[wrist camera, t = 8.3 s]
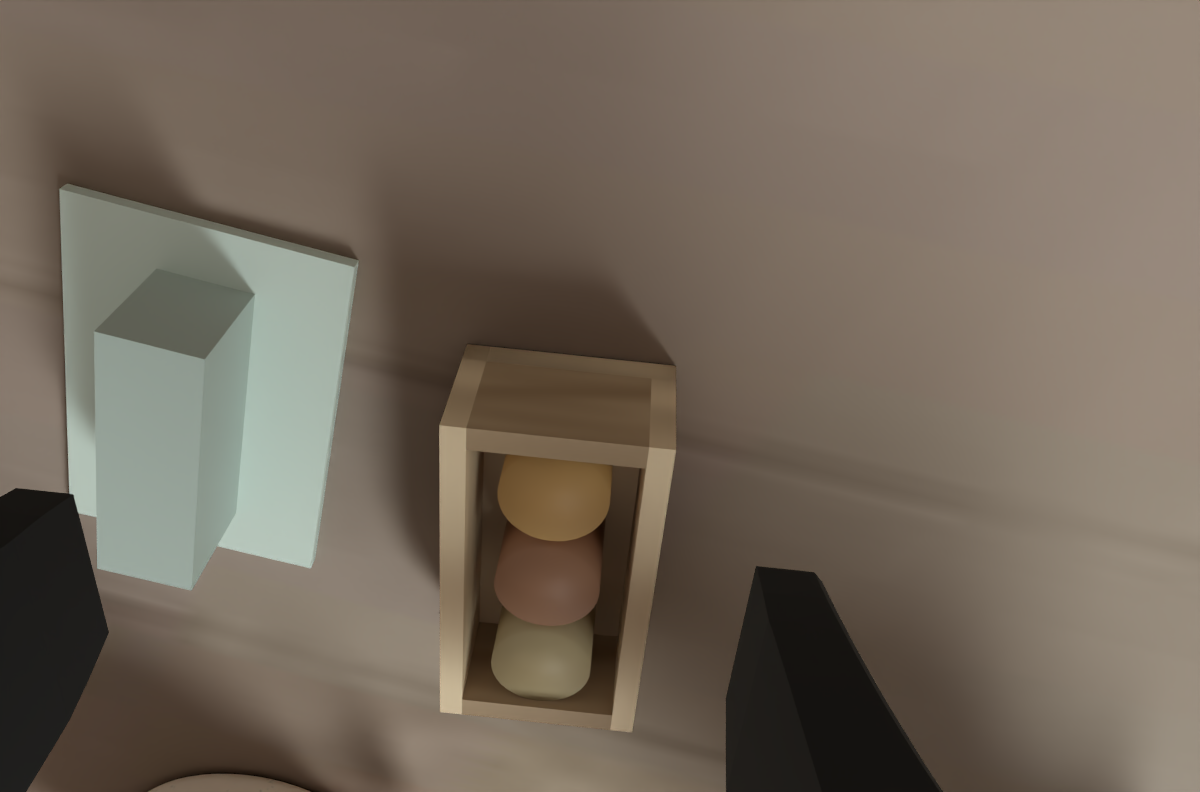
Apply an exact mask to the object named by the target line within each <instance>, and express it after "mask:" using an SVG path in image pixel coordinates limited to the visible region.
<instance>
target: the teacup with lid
mask: <svg viewBox="0 0 1200 792" xmlns="http://www.w3.org/2000/svg"><path fill="white" fill-rule="evenodd" d="M148 792H311V791H308V790H306V789H303V788H300V787H298V786H295V785H291V784H288V783H285V782H281V781H277V780H273V779H268V778H263V777H258V776H250V775H241V774H205V775H196V776H189V777H185V778H180V779H176V780H173V781H170V782H167V783H165V784H162V785H160V786H158V787H156V788H154V789H152V790H150V791H148Z"/></svg>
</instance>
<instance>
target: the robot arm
mask: <svg viewBox="0 0 1200 792" xmlns="http://www.w3.org/2000/svg"><path fill="white" fill-rule="evenodd" d="M108 633H109V632H108V628H107V624H106V620H105V616H104V612H103V608H102V604H101V600H100V596H99V593H98V589H97V585H96V581H95V577H94V573H93V569H92V565H91V561H90V557H89V553H88V550H87V546H86V542H85V538H84V534H83V530H82V526H81V522H80V518H79V514H78V511H77V507H76V503H75V499H74V495H73V494H66V493H56V492H47V491H37V490H28V489H18V488H16V489H14V490H12V491H10V492H8V493H7V494H5V495H3V496H1V497H0V792H26V791H27V789H28V788H29V786H30V784H31V783H32V781H33V780H34V778H35V776H36V775H37V773H38V771H39V770H40V768H41V766H42V765H43V763H44V762H45V760H46V758H47V757H48V755H49V753H50V752H51V750H52V748H53V747H54V745H55V744H56V742H57V740H58V738H59V737H60V735H61V733H62V732H63V730H64V728H65V727H66V725H67V723H68V722H69V720H70V718H71V716H72V713H73V711H74V709H75V707H76V705H77V703H78V701H79V699H80V697H81V694H82V692H83V690H84V688H85V686H86V684H87V682H88V679H89V677H90V675H91V673H92V670H93V668H94V666H95V663H96V661H97V659H98V656H99V654H100V652H101V649H102V647H103V645H104V642H105V640H106V638H107V635H108ZM726 792H943V791H942V790H941V788H940V787H939V785H938V784H937V782H936V781H935V779H934V778H933V776H932V775H931V773H930V771H929V770H928V768H927V767H926V765H925V764H924V762H923V761H922V759H921V758H920V756H919V754H918V753H917V751H916V749H915V748H914V746H913V745H912V743H911V741H910V740H909V738H908V736H907V735H906V733H905V732H904V730H903V728H902V727H901V725H900V723H899V722H898V720H897V718H896V717H895V715H894V714H893V712H892V710H891V709H890V707H889V705H888V704H887V702H886V700H885V699H884V697H883V695H882V693H881V692H880V690H879V688H878V687H877V685H876V683H875V681H874V680H873V678H872V676H871V674H870V672H869V671H868V669H867V667H866V665H865V663H864V662H863V660H862V658H861V656H860V654H859V653H858V651H857V649H856V647H855V645H854V643H853V642H852V640H851V638H850V636H849V634H848V632H847V630H846V628H845V627H844V625H843V623H842V621H841V619H840V617H839V615H838V613H837V611H836V609H835V607H834V605H833V603H832V601H831V599H830V597H829V595H828V593H827V591H826V589H825V587H824V585H823V583H822V581H821V580H820V579H819V578H818V576H817V575H816V574H815V573H814V572H805V571H796V570H786V569H777V568H767V567H758V566H756V569H755V573H754V578H753V582H752V587H751V591H750V595H749V600H748V604H747V609H746V613H745V617H744V622H743V626H742V630H741V635H740V639H739V644H738V648H737V652H736V657H735V661H734V666H733V670H732V674H731V679H730V683H729V687H728V692H727V696H726Z"/></svg>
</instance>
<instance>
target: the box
mask: <svg viewBox="0 0 1200 792" xmlns="http://www.w3.org/2000/svg"><path fill="white" fill-rule="evenodd" d="M675 454H676V366H672V365H662V364H653V363H643V362H634V361H624V360H614V359H605V358H595V357H586V356H576V355H567V354H557V353H547V352H538V351H528V350H519V349H509V348H500V347H490V346H480V345H471V344H467V346H466V349H465V352H464V355H463V358H462V360H461V363H460V366H459V369H458V372H457V375H456V378H455V381H454V384H453V387H452V390H451V393H450V396H449V399H448V401H447V404H446V407H445V410H444V413H443V416H442V419H441V422H440V425H439V483H440V712H445V713H454V714H464V715H473V716H483V717H492V718H501V719H511V720H520V721H530V722H539V723H548V724H558V725H567V726H577V727H586V728H595V729H605V730H614V731H624V732H632V729H633V723H634V717H635V710H636V704H637V697H638V691H639V685H640V678H641V672H642V665H643V659H644V653H645V646H646V640H647V633H648V627H649V621H650V614H651V608H652V601H653V595H654V589H655V582H656V576H657V569H658V563H659V557H660V550H661V544H662V537H663V531H664V525H665V518H666V512H667V506H668V499H669V493H670V486H671V480H672V474H673V467H674V461H675Z"/></svg>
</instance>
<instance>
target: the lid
mask: <svg viewBox="0 0 1200 792" xmlns="http://www.w3.org/2000/svg"><path fill="white" fill-rule="evenodd" d="M59 192H60V223H61V253H62V284H63V314H64V345H65V375H66V406H67V436H68V467H69V494H73V495H74V499H75V503H76V507H77V511H78V513H80V514H85V515H89V516H93V517H97V569H101V570H106V571H110V572H114V573H119V574H123V575H127V576H131V577H136V578H140V579H144V580H148V581H153V582H157V583H161V584H166V585H170V586H174V587H178V588H183V589H187V590H191V591H192V589H193V587H194V586H195V584H196V582H197V580H198V579H199V577H200V575H201V573H202V572H203V570H204V568H205V566H206V565H207V563H208V561H209V559H210V558H211V556H212V554H213V552H214V551H215V549H216V547H217V546H219V547H223V548H227V549H232V550H236V551H240V552H244V553H248V554H253V555H257V556H261V557H265V558H269V559H274V560H278V561H282V562H286V563H290V564H295V565H299V566H303V567H307V568H311V567H312V565H313V562H314V560H315V555H316V549H317V542H318V535H319V528H320V521H321V515H322V508H323V501H324V494H325V487H326V480H327V474H328V467H329V460H330V453H331V446H332V440H333V433H334V426H335V419H336V412H337V406H338V399H339V392H340V385H341V378H342V371H343V365H344V358H345V351H346V344H347V337H348V331H349V324H350V317H351V310H352V303H353V297H354V290H355V283H356V276H357V269H358V262H359V260H356V259H352V258H348V257H344V256H340V255H337V254H333V253H329V252H325V251H321V250H318V249H314V248H310V247H306V246H302V245H299V244H295V243H291V242H287V241H283V240H280V239H276V238H272V237H268V236H264V235H261V234H257V233H253V232H249V231H246V230H242V229H238V228H234V227H230V226H227V225H223V224H219V223H215V222H211V221H208V220H204V219H200V218H196V217H192V216H189V215H185V214H181V213H177V212H173V211H170V210H166V209H162V208H158V207H154V206H151V205H147V204H143V203H139V202H136V201H132V200H128V199H124V198H120V197H117V196H113V195H109V194H105V193H101V192H98V191H94V190H90V189H86V188H82V187H79V186H75V185H71V184H66V185H64V186H63V187H61V188H60V189H59Z"/></svg>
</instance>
